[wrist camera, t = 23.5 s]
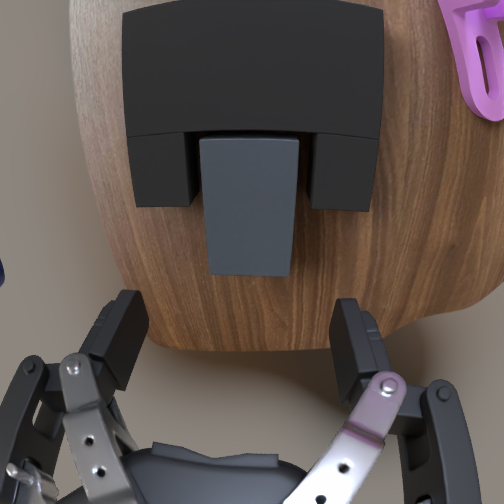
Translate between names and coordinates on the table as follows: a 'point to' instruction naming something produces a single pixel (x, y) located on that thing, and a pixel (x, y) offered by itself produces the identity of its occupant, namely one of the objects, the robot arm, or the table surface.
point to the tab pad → (249, 201)
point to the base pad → (253, 90)
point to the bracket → (466, 53)
